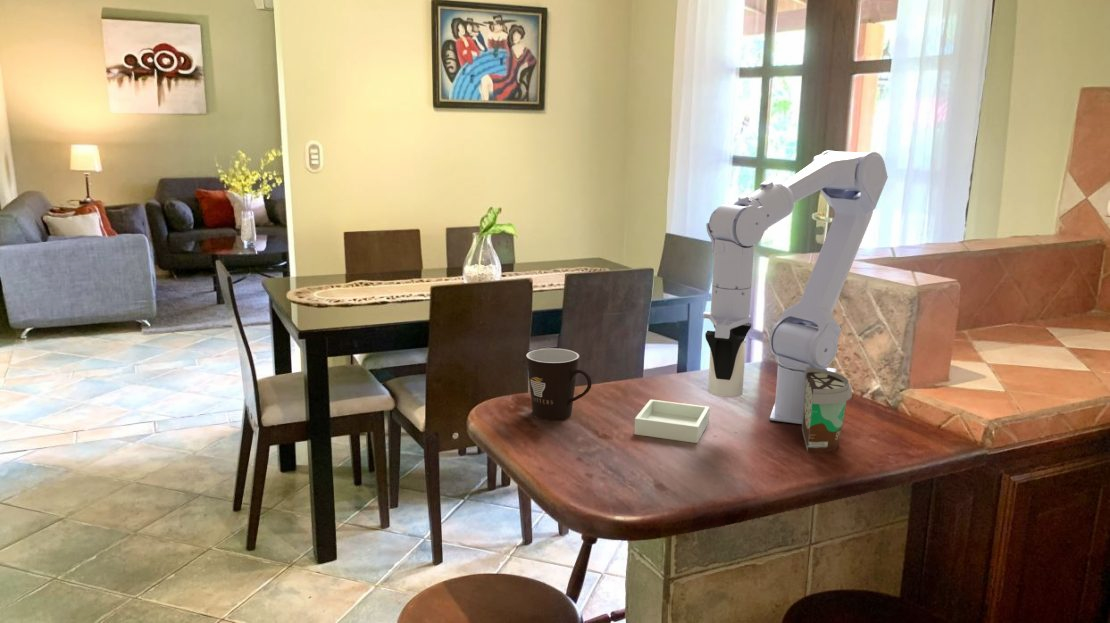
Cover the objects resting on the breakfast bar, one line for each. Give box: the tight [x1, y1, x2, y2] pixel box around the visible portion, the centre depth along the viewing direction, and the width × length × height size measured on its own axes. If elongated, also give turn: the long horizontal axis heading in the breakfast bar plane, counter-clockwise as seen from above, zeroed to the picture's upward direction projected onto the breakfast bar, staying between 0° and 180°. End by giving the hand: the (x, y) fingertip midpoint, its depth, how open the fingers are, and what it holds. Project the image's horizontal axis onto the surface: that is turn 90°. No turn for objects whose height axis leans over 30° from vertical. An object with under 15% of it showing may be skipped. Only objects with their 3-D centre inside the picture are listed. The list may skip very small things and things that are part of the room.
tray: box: [634, 399, 711, 444], centre depth 130 cm, size 10×10×3 cm
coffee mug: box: [525, 348, 592, 421], centre depth 133 cm, size 12×9×10 cm
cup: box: [707, 340, 747, 398], centre depth 125 cm, size 5×5×8 cm
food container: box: [801, 367, 853, 453], centre depth 124 cm, size 12×6×10 cm, turn 168°
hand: (726, 373), depth 125 cm, fingers closed on cup, 5 cm apart
